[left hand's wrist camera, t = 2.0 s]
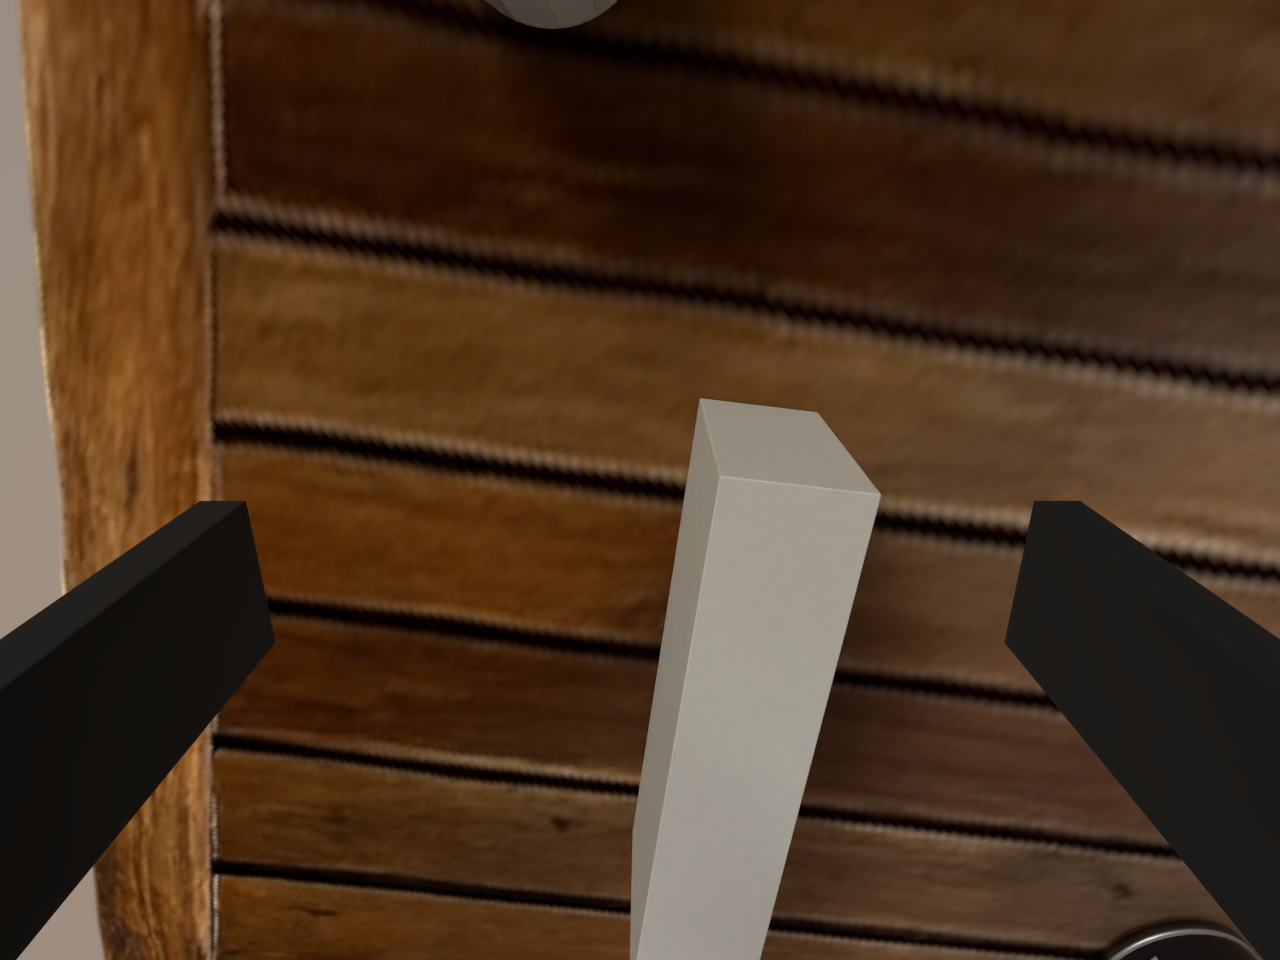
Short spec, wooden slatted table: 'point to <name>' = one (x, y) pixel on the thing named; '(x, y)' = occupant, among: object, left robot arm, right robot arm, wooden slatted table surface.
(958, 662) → the wooden slatted table surface
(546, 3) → the white cup
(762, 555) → the grey bar
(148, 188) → the wooden slatted table surface
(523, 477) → the wooden slatted table surface
